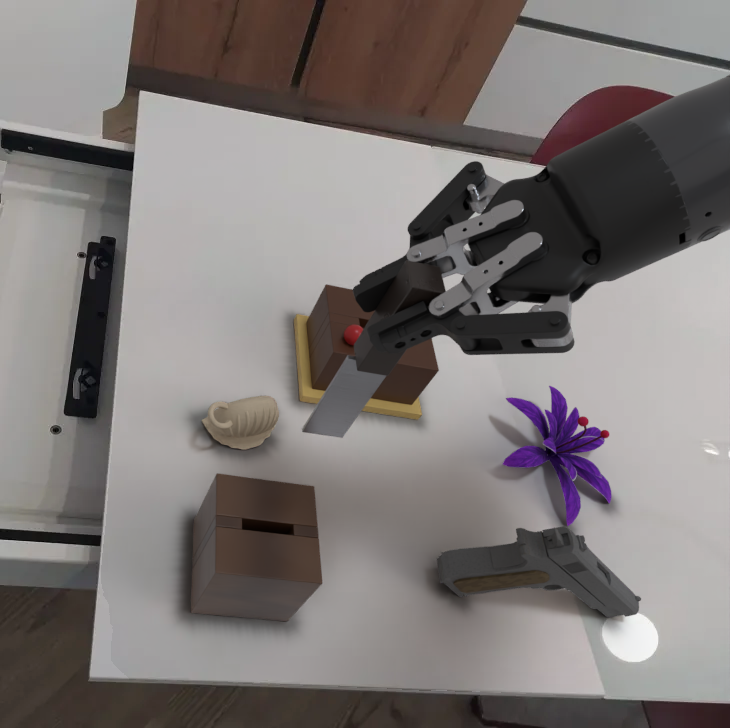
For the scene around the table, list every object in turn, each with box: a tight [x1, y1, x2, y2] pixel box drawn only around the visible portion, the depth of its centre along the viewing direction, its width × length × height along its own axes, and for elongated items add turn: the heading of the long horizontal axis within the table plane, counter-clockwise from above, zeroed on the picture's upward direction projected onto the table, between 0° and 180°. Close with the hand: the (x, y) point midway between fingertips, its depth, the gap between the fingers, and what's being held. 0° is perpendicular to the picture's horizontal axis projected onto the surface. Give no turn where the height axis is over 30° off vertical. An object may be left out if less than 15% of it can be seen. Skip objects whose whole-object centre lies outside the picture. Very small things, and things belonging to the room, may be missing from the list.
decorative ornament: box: [201, 395, 280, 451], centre depth 67 cm, size 4×8×5 cm, turn 110°
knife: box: [301, 260, 447, 439], centre depth 49 cm, size 3×2×17 cm
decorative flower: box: [501, 385, 612, 527], centre depth 75 cm, size 14×15×7 cm
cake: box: [293, 283, 440, 421], centre depth 75 cm, size 13×11×9 cm
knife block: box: [190, 473, 323, 622], centre depth 58 cm, size 8×8×8 cm
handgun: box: [436, 525, 642, 618], centre depth 65 cm, size 3×18×12 cm
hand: (366, 321), depth 45 cm, fingers closed on knife, 2 cm apart
